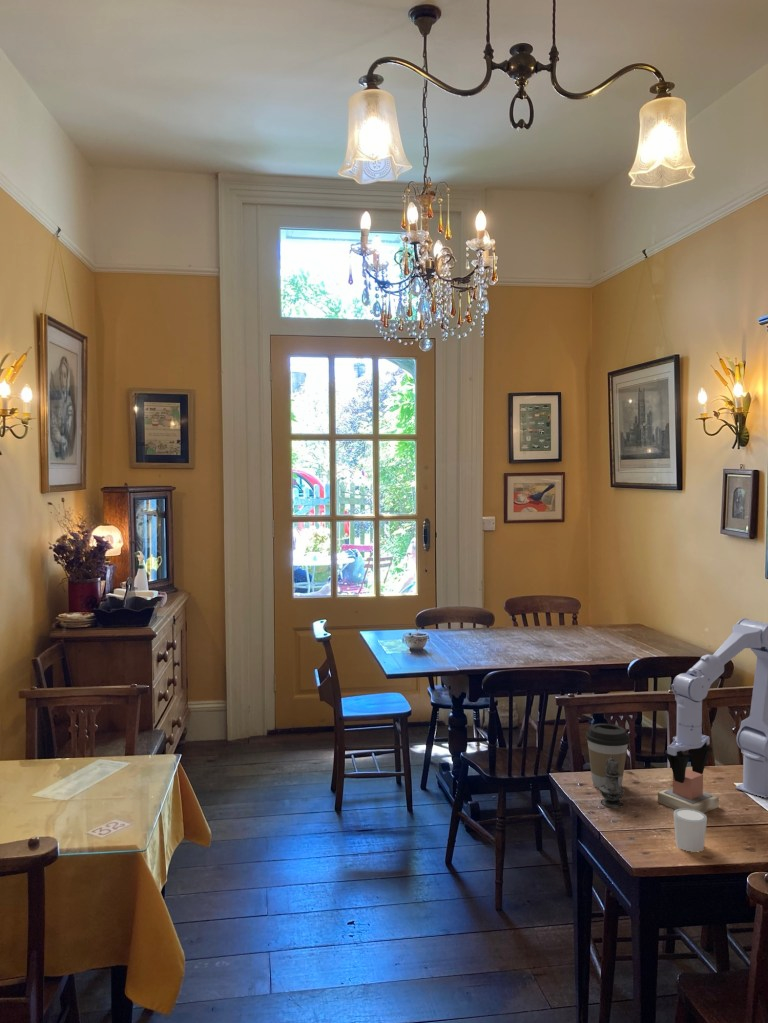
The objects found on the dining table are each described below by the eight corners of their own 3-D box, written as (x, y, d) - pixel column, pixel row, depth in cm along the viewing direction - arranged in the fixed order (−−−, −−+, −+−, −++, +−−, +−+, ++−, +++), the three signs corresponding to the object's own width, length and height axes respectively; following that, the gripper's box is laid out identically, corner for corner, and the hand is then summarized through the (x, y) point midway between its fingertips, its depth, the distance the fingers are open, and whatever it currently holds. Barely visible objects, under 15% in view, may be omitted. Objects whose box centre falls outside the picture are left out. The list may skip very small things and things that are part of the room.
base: (681, 793, 190) (682, 782, 190) (718, 807, 182) (718, 796, 182) (657, 802, 185) (657, 791, 184) (694, 817, 176) (694, 805, 176)
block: (684, 788, 187) (684, 768, 187) (702, 794, 183) (703, 774, 182) (672, 792, 184) (672, 772, 184) (690, 799, 180) (691, 779, 180)
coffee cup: (632, 781, 198) (632, 725, 197) (626, 797, 187) (627, 738, 187) (588, 774, 203) (589, 719, 202) (580, 789, 192) (581, 732, 192)
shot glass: (703, 857, 157) (704, 824, 157) (669, 848, 161) (670, 816, 160) (709, 844, 163) (709, 812, 163) (676, 836, 167) (676, 805, 166)
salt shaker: (625, 809, 180) (626, 760, 180) (600, 807, 182) (600, 758, 181) (622, 799, 186) (623, 752, 186) (598, 797, 187) (598, 750, 187)
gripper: (691, 714, 190) (691, 766, 190) (656, 724, 182) (656, 779, 182) (717, 721, 184) (716, 775, 185) (682, 732, 176) (681, 788, 176)
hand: (688, 778), depth 183 cm, fingers open, 7 cm apart
